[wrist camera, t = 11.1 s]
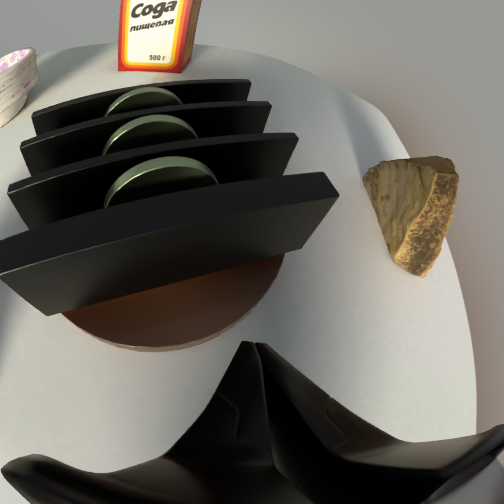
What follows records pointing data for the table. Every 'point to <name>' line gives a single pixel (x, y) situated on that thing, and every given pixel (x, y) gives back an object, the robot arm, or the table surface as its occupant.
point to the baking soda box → (156, 34)
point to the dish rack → (153, 193)
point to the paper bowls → (16, 81)
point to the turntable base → (179, 309)
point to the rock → (413, 207)
